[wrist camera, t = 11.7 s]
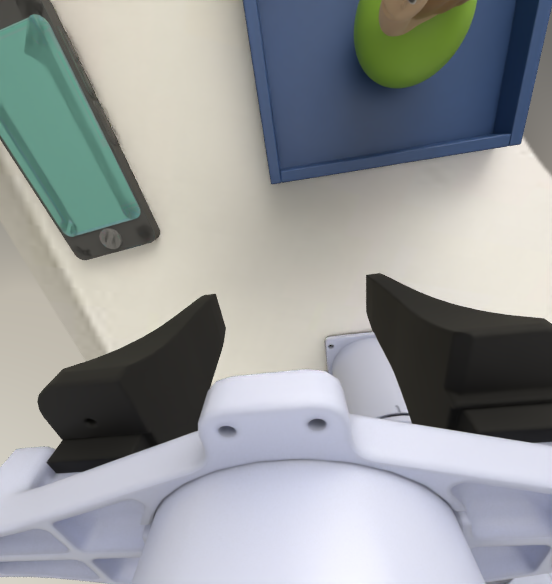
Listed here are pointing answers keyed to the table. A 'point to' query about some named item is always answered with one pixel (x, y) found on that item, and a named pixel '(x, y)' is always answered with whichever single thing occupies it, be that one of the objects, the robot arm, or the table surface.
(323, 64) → the tray
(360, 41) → the snail figurine
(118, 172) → the smartphone
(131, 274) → the table surface
